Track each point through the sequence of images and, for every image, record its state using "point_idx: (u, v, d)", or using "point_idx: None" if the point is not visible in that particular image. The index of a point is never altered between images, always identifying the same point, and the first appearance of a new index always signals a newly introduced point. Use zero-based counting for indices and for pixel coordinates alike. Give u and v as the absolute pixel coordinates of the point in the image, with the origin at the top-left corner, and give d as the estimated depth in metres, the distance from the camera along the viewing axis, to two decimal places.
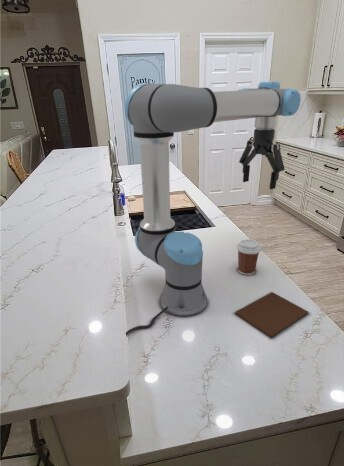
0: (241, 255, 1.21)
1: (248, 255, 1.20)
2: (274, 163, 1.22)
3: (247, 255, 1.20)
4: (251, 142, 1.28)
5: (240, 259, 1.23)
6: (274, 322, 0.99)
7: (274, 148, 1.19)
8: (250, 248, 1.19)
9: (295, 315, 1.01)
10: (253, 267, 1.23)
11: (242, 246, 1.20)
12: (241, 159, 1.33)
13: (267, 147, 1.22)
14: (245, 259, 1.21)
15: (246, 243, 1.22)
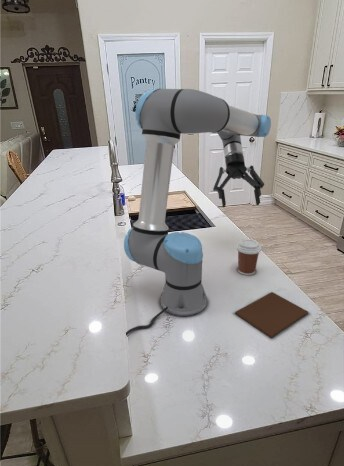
0: (241, 255, 1.21)
1: (248, 255, 1.20)
2: None
3: (247, 255, 1.20)
4: (223, 169, 1.32)
5: (240, 259, 1.23)
6: (274, 322, 0.99)
7: (252, 168, 1.32)
8: (250, 248, 1.19)
9: (295, 315, 1.01)
10: (253, 267, 1.23)
11: (242, 246, 1.20)
12: (216, 184, 1.29)
13: (244, 169, 1.32)
14: (245, 259, 1.21)
15: (246, 243, 1.22)
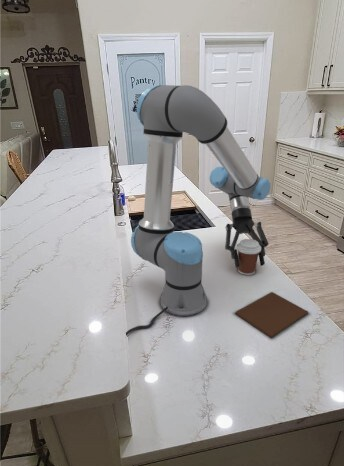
0: (241, 255, 1.21)
1: (248, 255, 1.20)
2: None
3: (247, 255, 1.20)
4: (230, 225, 1.26)
5: (240, 259, 1.23)
6: (274, 322, 0.99)
7: (259, 224, 1.26)
8: (250, 248, 1.19)
9: (295, 315, 1.01)
10: (253, 267, 1.23)
11: (242, 246, 1.20)
12: (228, 243, 1.23)
13: (251, 223, 1.26)
14: (245, 259, 1.21)
15: (246, 243, 1.22)
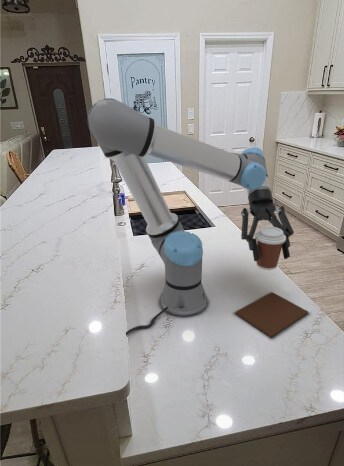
0: (261, 246, 1.00)
1: (270, 246, 0.98)
2: None
3: (269, 246, 0.98)
4: (247, 210, 1.04)
5: (260, 251, 1.01)
6: (274, 322, 0.99)
7: (282, 209, 1.05)
8: (273, 237, 0.97)
9: (295, 315, 1.01)
10: (275, 260, 1.01)
11: (263, 235, 0.98)
12: (245, 232, 1.01)
13: (273, 208, 1.05)
14: (266, 251, 0.99)
15: (267, 231, 1.00)
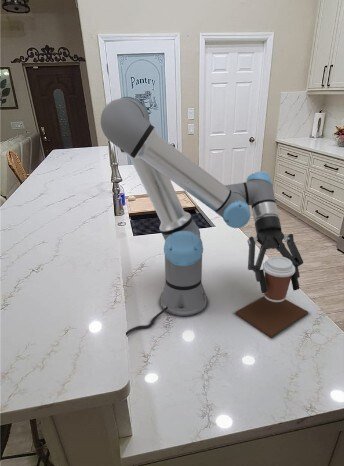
0: (269, 278, 0.95)
1: (279, 278, 0.93)
2: None
3: (277, 278, 0.93)
4: (254, 238, 0.99)
5: (268, 282, 0.96)
6: (274, 322, 0.99)
7: (291, 237, 0.99)
8: (282, 269, 0.92)
9: (295, 315, 1.01)
10: (284, 292, 0.96)
11: (271, 266, 0.93)
12: (252, 262, 0.96)
13: (281, 236, 0.99)
14: (275, 283, 0.94)
15: (276, 262, 0.95)
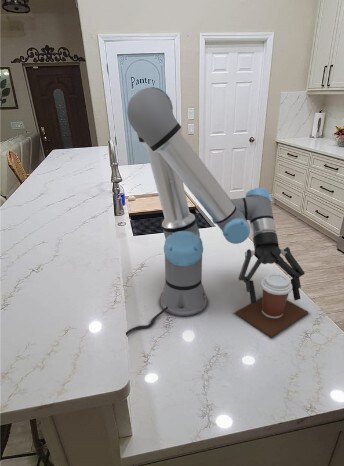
0: (267, 295, 0.97)
1: (276, 295, 0.96)
2: None
3: (275, 295, 0.96)
4: (251, 251, 1.02)
5: (265, 299, 0.99)
6: (274, 322, 0.99)
7: (288, 251, 1.02)
8: (279, 287, 0.95)
9: (295, 315, 1.01)
10: (281, 309, 0.99)
11: (269, 284, 0.96)
12: (243, 273, 0.99)
13: (278, 252, 1.02)
14: (272, 300, 0.97)
15: (273, 280, 0.98)
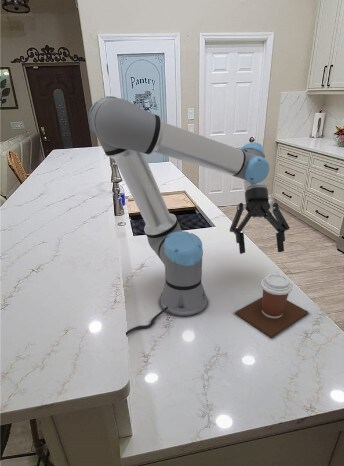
0: (267, 295, 0.97)
1: (276, 296, 0.96)
2: None
3: (275, 295, 0.96)
4: (243, 205, 1.08)
5: (265, 299, 0.99)
6: (274, 322, 0.99)
7: (276, 206, 1.09)
8: (279, 287, 0.95)
9: (295, 315, 1.01)
10: (281, 309, 0.99)
11: (269, 284, 0.96)
12: (235, 225, 1.05)
13: (267, 207, 1.09)
14: (272, 300, 0.97)
15: (273, 280, 0.98)
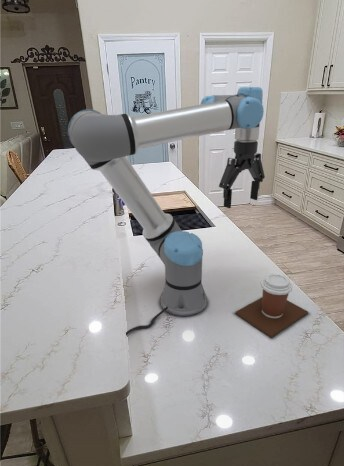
0: (267, 295, 0.97)
1: (276, 296, 0.96)
2: None
3: (275, 295, 0.96)
4: None
5: (265, 299, 0.99)
6: (274, 322, 0.99)
7: (259, 157, 1.12)
8: (279, 287, 0.95)
9: (295, 315, 1.01)
10: (281, 309, 0.99)
11: (269, 284, 0.96)
12: (226, 183, 1.07)
13: (253, 159, 1.10)
14: (272, 300, 0.97)
15: (273, 280, 0.98)
